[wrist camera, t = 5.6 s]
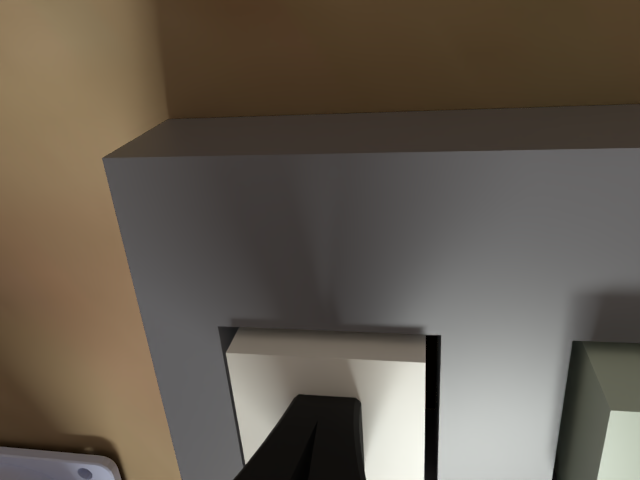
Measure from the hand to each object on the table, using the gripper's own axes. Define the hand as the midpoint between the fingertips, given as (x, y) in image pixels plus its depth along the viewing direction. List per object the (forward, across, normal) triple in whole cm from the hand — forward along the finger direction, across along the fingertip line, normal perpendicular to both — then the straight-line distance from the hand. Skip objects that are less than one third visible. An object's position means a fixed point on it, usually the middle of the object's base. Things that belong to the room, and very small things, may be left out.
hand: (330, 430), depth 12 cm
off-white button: (+3, 0, 0) cm, 3 cm away
